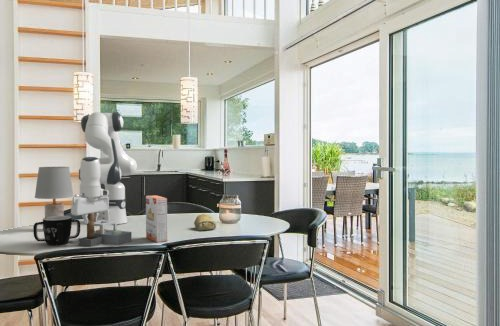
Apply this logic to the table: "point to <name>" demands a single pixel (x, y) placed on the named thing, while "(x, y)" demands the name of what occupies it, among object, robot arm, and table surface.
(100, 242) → the block
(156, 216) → the cracker box
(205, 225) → the pastry
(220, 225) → the table surface
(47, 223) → the mug
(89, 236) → the dowel
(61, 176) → the lamp
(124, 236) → the grey stand
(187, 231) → the table surface
